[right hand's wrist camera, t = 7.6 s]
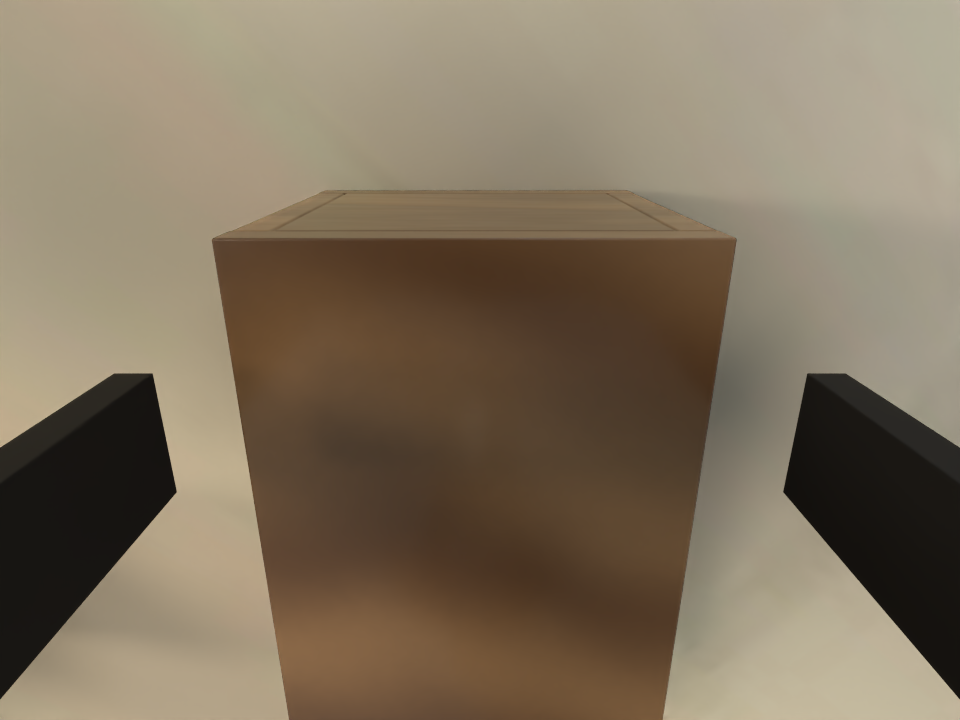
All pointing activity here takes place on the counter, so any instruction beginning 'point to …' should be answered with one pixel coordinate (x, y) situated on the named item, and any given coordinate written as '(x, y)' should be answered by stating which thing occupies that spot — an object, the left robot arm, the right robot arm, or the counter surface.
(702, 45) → the counter surface
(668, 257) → the cabinet
